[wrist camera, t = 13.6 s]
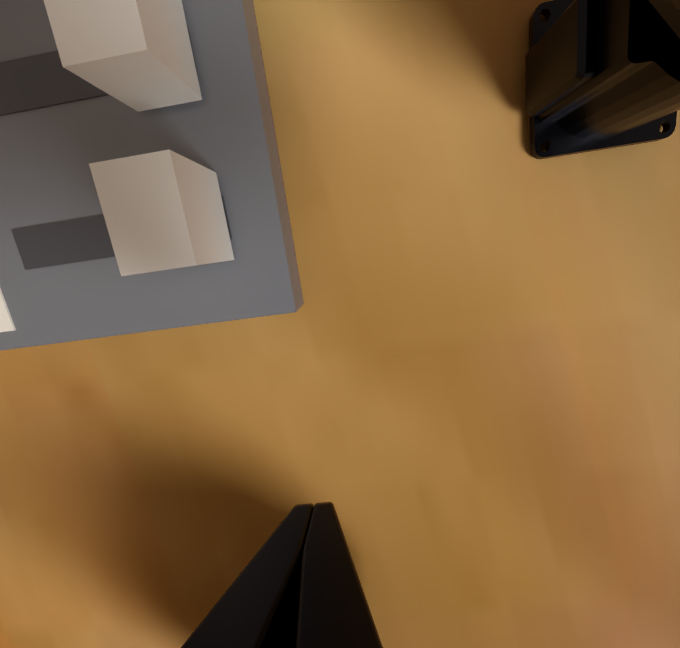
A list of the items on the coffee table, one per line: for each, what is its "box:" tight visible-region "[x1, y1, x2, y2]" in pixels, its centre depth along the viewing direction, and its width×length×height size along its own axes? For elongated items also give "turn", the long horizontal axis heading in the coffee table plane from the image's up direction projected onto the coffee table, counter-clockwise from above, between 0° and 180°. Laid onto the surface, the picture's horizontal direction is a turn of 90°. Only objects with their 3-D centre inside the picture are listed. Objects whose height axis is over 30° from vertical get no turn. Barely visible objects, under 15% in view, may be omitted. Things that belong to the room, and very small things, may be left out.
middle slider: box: [44, 0, 202, 112], centre depth 13 cm, size 3×4×4 cm
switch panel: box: [0, 0, 304, 350], centre depth 16 cm, size 18×24×3 cm
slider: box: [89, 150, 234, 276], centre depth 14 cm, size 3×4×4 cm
